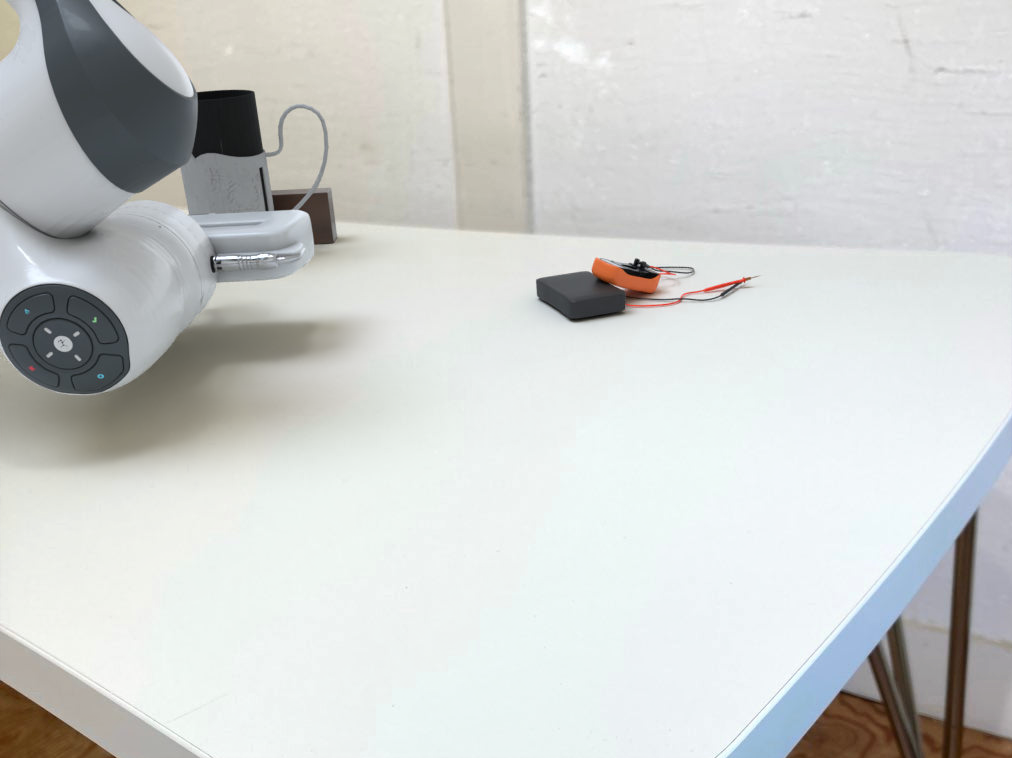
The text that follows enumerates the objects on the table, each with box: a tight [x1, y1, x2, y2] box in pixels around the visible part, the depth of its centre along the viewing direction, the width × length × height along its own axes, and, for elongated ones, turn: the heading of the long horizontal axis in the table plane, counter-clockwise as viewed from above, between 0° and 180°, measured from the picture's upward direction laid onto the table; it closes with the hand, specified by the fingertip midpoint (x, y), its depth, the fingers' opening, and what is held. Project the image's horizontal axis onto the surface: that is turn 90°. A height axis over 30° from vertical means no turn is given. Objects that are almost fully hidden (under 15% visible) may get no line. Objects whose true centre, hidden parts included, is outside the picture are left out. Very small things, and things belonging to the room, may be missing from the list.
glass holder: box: [179, 89, 329, 215], centre depth 99 cm, size 9×14×15 cm, turn 96°
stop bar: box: [271, 187, 338, 245], centre depth 107 cm, size 14×2×5 cm, turn 90°
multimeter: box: [535, 256, 762, 320], centre depth 87 cm, size 18×12×3 cm, turn 107°
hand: (200, 224), depth 86 cm, fingers closed
